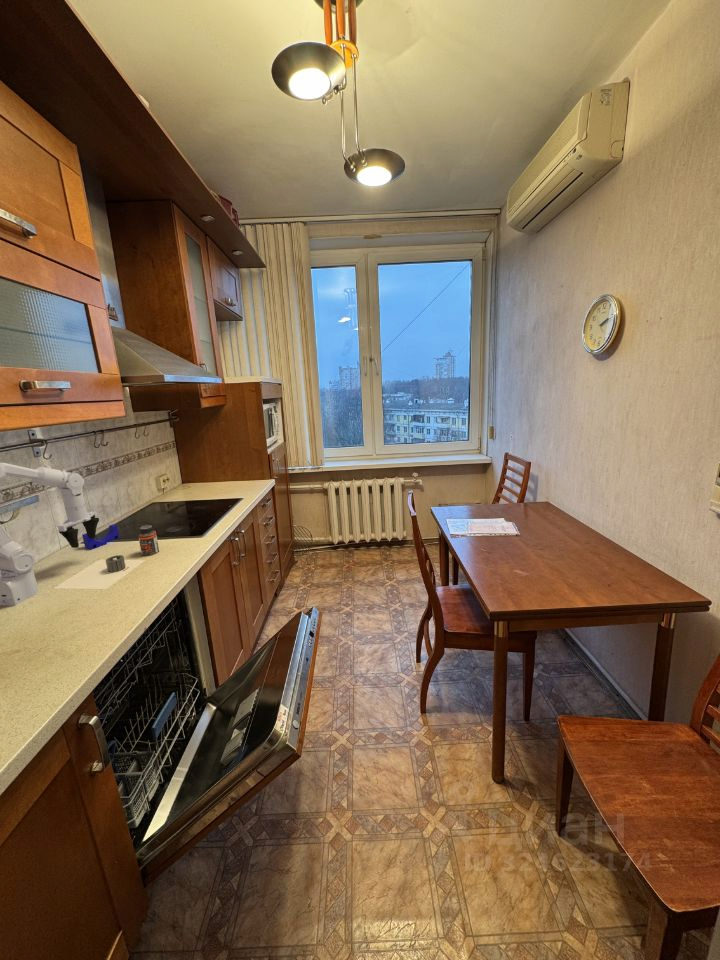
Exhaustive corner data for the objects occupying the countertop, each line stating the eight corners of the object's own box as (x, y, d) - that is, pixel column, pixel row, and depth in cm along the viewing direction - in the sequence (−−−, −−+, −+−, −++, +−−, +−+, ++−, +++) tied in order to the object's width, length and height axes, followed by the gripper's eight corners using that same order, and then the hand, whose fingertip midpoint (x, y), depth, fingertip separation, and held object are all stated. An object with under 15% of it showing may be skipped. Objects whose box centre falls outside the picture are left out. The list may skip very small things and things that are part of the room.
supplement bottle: (140, 559, 141) (134, 530, 138) (144, 552, 146) (139, 525, 143) (157, 556, 142) (152, 528, 139) (161, 550, 148) (156, 523, 145)
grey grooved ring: (118, 572, 129) (116, 562, 128) (104, 572, 130) (102, 561, 129) (128, 565, 134) (126, 555, 133) (115, 565, 135) (112, 555, 134)
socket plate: (106, 591, 119) (103, 577, 118) (53, 590, 121) (49, 577, 119) (146, 561, 138) (143, 549, 137) (100, 561, 140) (97, 549, 139)
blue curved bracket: (91, 550, 150) (88, 536, 149) (85, 548, 153) (81, 534, 151) (121, 539, 161) (118, 525, 159) (115, 537, 163) (112, 524, 161)
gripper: (68, 513, 123) (77, 551, 126) (101, 499, 137) (109, 534, 140) (48, 513, 123) (58, 551, 127) (83, 499, 137) (91, 534, 141)
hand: (83, 542), depth 134 cm, fingers open, 7 cm apart
